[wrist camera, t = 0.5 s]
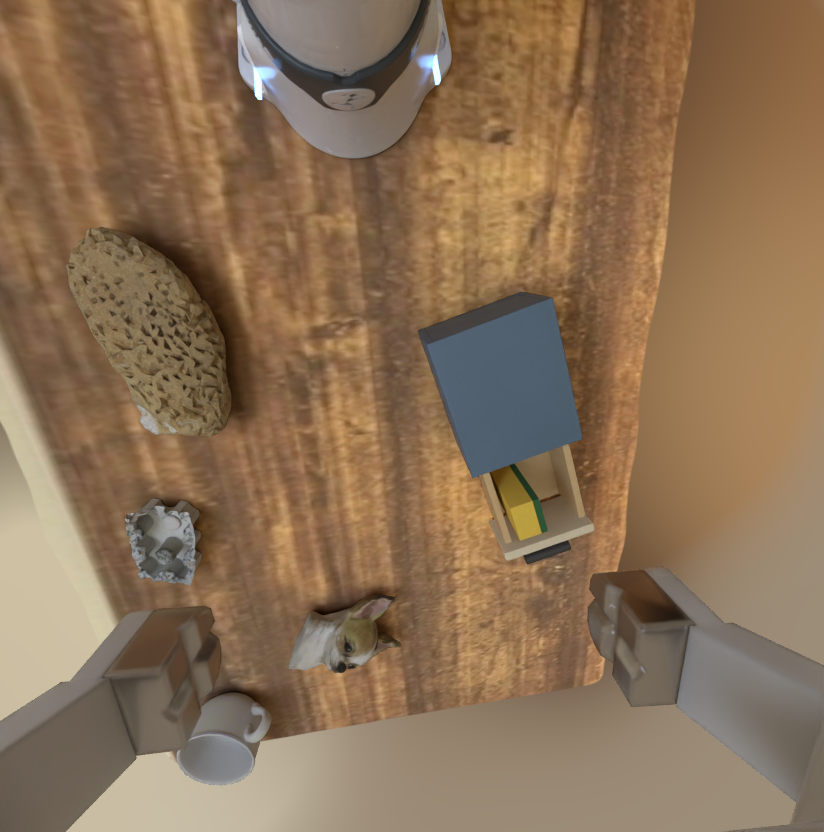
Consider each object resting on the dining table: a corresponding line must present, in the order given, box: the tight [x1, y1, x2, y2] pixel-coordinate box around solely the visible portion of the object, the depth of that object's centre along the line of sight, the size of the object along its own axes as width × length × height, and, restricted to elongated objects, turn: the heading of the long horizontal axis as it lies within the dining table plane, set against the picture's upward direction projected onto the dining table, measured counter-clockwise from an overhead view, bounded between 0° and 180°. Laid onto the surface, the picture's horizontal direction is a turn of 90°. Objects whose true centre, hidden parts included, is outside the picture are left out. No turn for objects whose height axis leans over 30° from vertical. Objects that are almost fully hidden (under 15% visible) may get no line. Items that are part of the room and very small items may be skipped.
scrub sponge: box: [489, 464, 548, 541], centre depth 47 cm, size 4×3×9 cm
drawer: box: [479, 444, 594, 564], centre depth 49 cm, size 19×11×7 cm, turn 20°
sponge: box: [66, 227, 231, 436], centre depth 40 cm, size 13×8×20 cm
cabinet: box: [418, 292, 583, 478], centre depth 44 cm, size 15×12×8 cm
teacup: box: [177, 693, 271, 785], centre depth 60 cm, size 14×11×8 cm
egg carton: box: [125, 499, 202, 585], centre depth 50 cm, size 11×8×4 cm
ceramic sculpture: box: [289, 595, 401, 673], centre depth 55 cm, size 11×9×15 cm
